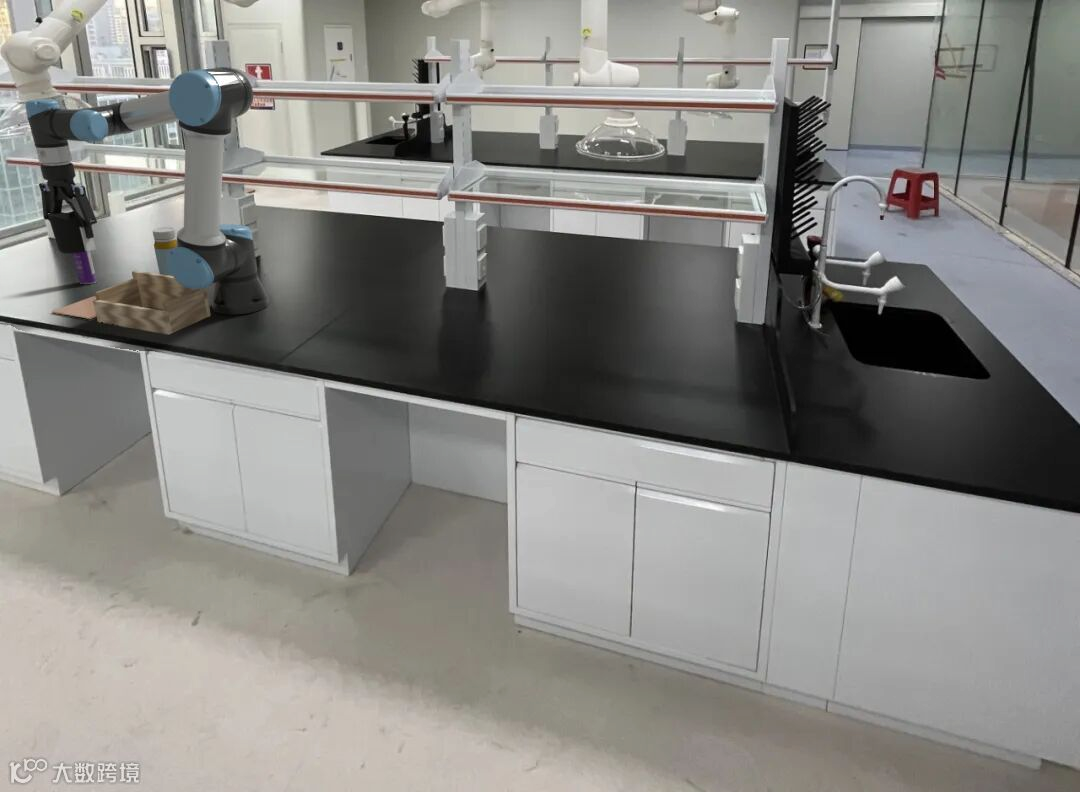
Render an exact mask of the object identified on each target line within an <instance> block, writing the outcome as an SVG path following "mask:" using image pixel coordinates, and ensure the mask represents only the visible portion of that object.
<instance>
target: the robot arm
mask: <svg viewBox="0 0 1080 792" xmlns="http://www.w3.org/2000/svg"><path fill="white" fill-rule="evenodd" d="M253 101H254V90H253V86H252V84H251V82H250V81H249V79H248V78H247V77H246V76H245V75H244V74H243V73H242V72H240V71H239V70H237V69H235V68H232V67H227V66H221V67H214V68H212V67H211V68H204V69H200V68H197V69H191V70H188V71H185V72H182V73H180V74H179V75H178V76H176V77H175V78H174V79H173V80H172V82H171V85H170V86H169V90H166V91H161V92H158V93H154V94H150V95H146V96H142V97H137V98H133V99H129V100H128V99H127V100H125V101H119V102H115V103H111V104H107V105H106V104H105V105H99V106H93V107H86V108H85V107H84V108H78V109H75V108H74V109H72V108H71V109H68V108H66V109H65V108H62V107H61V106H60V104H59V103H60V102H58V100H56V99H52V98H39V99H38V98H37V99H29V100H27V101H26V103H24V105H25V110H26V118H27V120H28V124H29V128H30V131H31V134H32V139H33V143H34V147H35V151H36V154H37V157H38V158H37V159H38V162H39V163H40V167H39V168H40V172H41V175H42V178H43V179H44V180H46V182H41V183H39V184H38V187H39V190H40V192H41V203H42V204H41V206H42V214H43V215H42V216H43V220H45V221H49V222H50V220H49V217H48V214H49V213H51V212H53V214H58V213H61V212H62V209H63V203H64V202H63V201H65V203H66V204H68V205H69V207H70V209H71V210H72V211H73V212H74V213H75V215H76V217H78V220H79V222H80V223H81V226H80V231H81V235H82V239H83V243H84V247H85V251H90V252H91V251H93V250H97V249H96V247H97V246H96V244H95V240H94V237H95V236H94V230H93V227H92V226H93V225H95V224H97V223H98V219H97V218H96V215H95V213H94V210H93V208H92V206H91V205H92V204H91V202H90V200H89V197H88V195H87V190H86V187H85V186H84V185H80V186H79V185H77V184H76V183H75V181H74V178H75V177H76V176H77V175H76V171H75V167H74V163H72V160H73V157H72V154H71V149H70V146H69V141H72V142H86V143H94V142H97V143H98V142H102V141H104V140H105V138H107V137H112V136H118V135H125V134H130V133H133V132H136V131H140V130H145V129H150V128H154V127H158V126H163V125H167V124H172V123H176V122H178V127H179V128H180V129H181V131H183V132H184V134H185V136H184V137H185V141H184V142H185V144H184V149H185V150H184V190H183V191H184V193H183V194H184V195H183V197H184V198H183V199H184V200H183V227H182V228H181V229H179V230H178V231H177V232H176V240H177V247H176V248H173V249H172V250H171V252H169V254H168V257H167V265H168V269H169V271H170V273H171V275H172V276H173V277H174V278H175V279H176V281H177V282H178V283H180V284H181V285H182V286H184V287H186V288H189V289H194V290H197V289H201V288H204V287H206V288H208V287H210V286H211V285H213V284H214V285H213V290H212V296H211V307H212V310H213V311H214V312H215V313H217V314H222V315H231V316H232V315H233V316H234V315H235V316H236V315H245V314H250V313H255V312H259V311H261V310H263V309H265V308H267V307H268V306H269V295H268V293H267V292H266V289H265V288H264V286H263V284H262V281H261V280H260V278H259V274H258V267H257V265H258V264H257V260H256V253H255V252H256V251H255V246H254V238H253V235H252V234H253V233H252V230H251V228H250V227H248V226H247V225H244V224H243V225H241V224H229V223H228V224H227V223H225V224H222V223H221V217H222V215H221V212H222V191H223V172H224V171H223V169H224V148H225V147H224V146H225V139H226V138H228V137H229V136H230V135H231V134H232V120H233V119H234V118H238V117H240V116H242V115H244V114H246V113H247V112H248V111H249V110H250V108H251V107H252V104H253ZM84 220H85V221H84Z"/></svg>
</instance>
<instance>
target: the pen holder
mask: <svg viewBox="0 0 1080 792" xmlns="http://www.w3.org/2000/svg"><path fill="white" fill-rule="evenodd" d="M48 217H49V220H50V221H49V220H48V221H49V223H50V227H51V230H52V233H53V236H54V239H55V243H56V246H57V249H58V251H59V252H60V253H63V254H72V253H81V252H86V251H85V247H84V243H83V239H82V235H81V231H80V226H81V223H80V222H79V220H78V217H76V215H75V213H74V212H73V210H72V211H68V212H63V211H61V213H58V214H53V212H51V213H48ZM84 221H85V220H84Z"/></svg>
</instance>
